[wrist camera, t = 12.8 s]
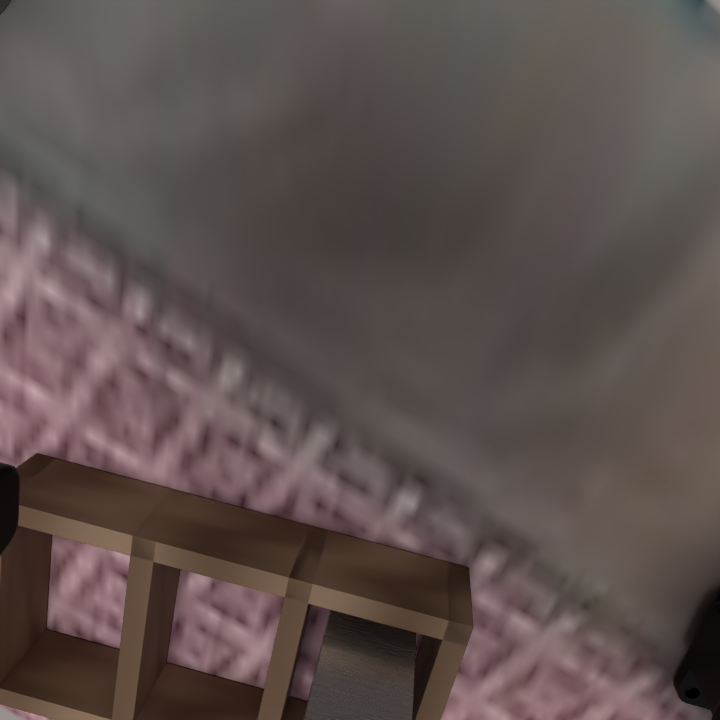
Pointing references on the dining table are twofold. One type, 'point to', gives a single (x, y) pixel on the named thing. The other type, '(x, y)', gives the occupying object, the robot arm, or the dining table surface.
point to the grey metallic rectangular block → (362, 671)
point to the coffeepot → (3, 4)
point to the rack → (216, 560)
